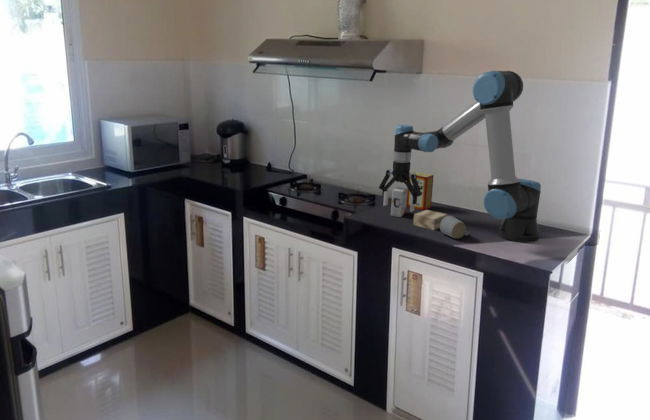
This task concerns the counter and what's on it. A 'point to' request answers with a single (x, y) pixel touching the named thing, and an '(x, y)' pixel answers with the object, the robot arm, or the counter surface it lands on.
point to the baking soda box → (422, 191)
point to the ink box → (399, 201)
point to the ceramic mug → (453, 227)
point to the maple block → (428, 219)
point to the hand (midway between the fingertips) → (398, 208)
